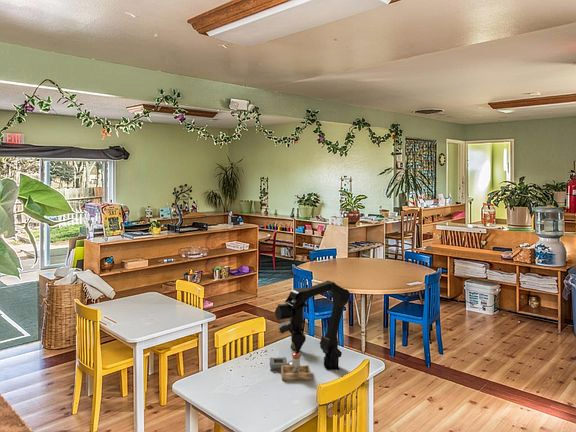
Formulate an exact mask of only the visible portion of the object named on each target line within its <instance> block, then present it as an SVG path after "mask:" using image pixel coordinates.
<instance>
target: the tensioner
mask: <svg viewBox="0 0 576 432" xmlns="http://www.w3.org/2000/svg"><path fill="white" fill-rule="evenodd" d="M281 366H292V360H289V361H288V360H287V357H269V368H270V369H269V370H270V372H272V371H273V372H274V371H280V372H281Z"/></svg>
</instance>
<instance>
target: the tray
mask: <svg viewBox="0 0 576 432" xmlns="http://www.w3.org/2000/svg"><path fill="white" fill-rule="evenodd" d="M280 375H281V381H283V382H284V381H288V382H291V381H294V382H295V381H312V371H311V369H310V365H309V364H306V365H305V364H304V365H303V364H301V365H300V369H299V373H298V374H292V366H281V371H280Z"/></svg>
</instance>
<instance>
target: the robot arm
mask: <svg viewBox="0 0 576 432" xmlns="http://www.w3.org/2000/svg"><path fill="white" fill-rule="evenodd" d="M328 292H330V293H332V294H331V295H332V297H331V299H332V303H333V305H332V310H331V314H330V318H329V321H328V322H329V323H328V325H327V326H328V327H327V331H326V334H324V335H322V336H321V337H320V342H319V344H320V345H319V347H320V349H321V350H322V353H324V356H323V367H324V368H325V370H328V371H330V370H340V366H339V358H341V357H342V354H343V352H342V351H341V350H340V349H339V348H338V347H339V340H338V332H339V327H340V323H341V319H342V315H343V310H344V307H346V305H347V304H348V302H349V301H350V296H351V293H350V291H349V289H348V288H347V289H346V288H344V287H341V286H339V285H338V284H337V283H336V282H334V281H332V280H326V281H324V282H320V283H317V284H315V285H312V286H309V287H305V288H304V287H299V288H297V287H296V288H293V289H291V290H290V292H289V295H288V296H287V297H286V300H285V301H284V303H279V304H277V306H276V307H275V310H274V315H275V318H276V319H277V320H278V321H280V320H287V321H284V322H282V323H279V324H277V327H278V330H279V332H280V334H281V335H282V334H284V333H287V332H289V333H290V340H291V343H292V342H293V343H294V346H295V350H294V351H295V352H296V354H298V353H300V351H301V350H302V347H303V345H304V344H305V342H306V339H307V338H306V334H305V333H304V323H305V320H304V308H308V307H309V306H308V304H307V303H306V302H308V301H309V299H311V298H313V297H315V296H318V295H321V294H324V293H328ZM288 319H289V320H288Z"/></svg>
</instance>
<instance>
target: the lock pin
mask: <svg viewBox="0 0 576 432" xmlns="http://www.w3.org/2000/svg"><path fill="white" fill-rule="evenodd" d="M291 358H292V359H291V361H292V374H298V373H299V369H300V361H301V360H300V359H301V352H299V353H298V354H296V351H295V352H294V351H293V352H292V353H291Z"/></svg>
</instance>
